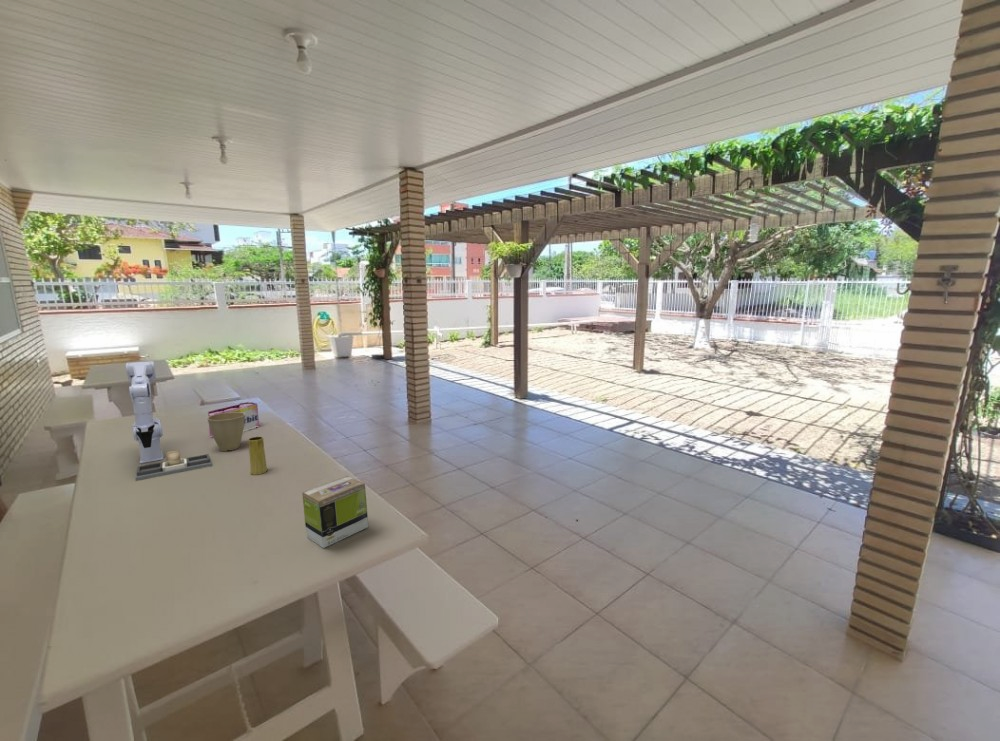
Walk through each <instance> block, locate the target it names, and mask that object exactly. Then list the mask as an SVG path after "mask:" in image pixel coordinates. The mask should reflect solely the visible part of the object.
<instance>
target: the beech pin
mask: <svg viewBox="0 0 1000 741" xmlns="http://www.w3.org/2000/svg"><path fill="white" fill-rule="evenodd" d="M181 459H182V458H181V452H180V450H177V449H176V450H171V451H167V452H166V462H168V466H173V465H179V464H181Z"/></svg>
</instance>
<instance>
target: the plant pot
mask: <svg viewBox="0 0 1000 741" xmlns="http://www.w3.org/2000/svg"><path fill="white" fill-rule="evenodd" d="M244 422H245V413H241V412H229V413H221V414H216V415H212V416H209V417H208V416H207V423H208V427H209V426H210V429H211V432H212V435H213V437H214V438H213V439H214V442H215V443H216V445H217V447H218V449H219V450H220V451H221V450H222V452H228V451H227V450H232V451H234V450H233V449H235V450H237V449H236V448H238V447H240V444H241V443H242V442H241V441H242V438H243V435H244V434H243V433H244V432H243V429H244ZM238 449H239V448H238Z"/></svg>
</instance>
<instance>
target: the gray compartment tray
mask: <svg viewBox="0 0 1000 741" xmlns="http://www.w3.org/2000/svg"><path fill="white" fill-rule="evenodd" d="M207 466H209V467H213V461H212V458H211V456H210V454H209V453H207V454H201V455H196V456H195V455H194V456H190V457H184V458H181V464H179V465H173V466H168V462H167V461H163V462H157V463H156V462H155V463H151V464H145V465H139V466H137V468H136V471H135V472H136V473H135V481H141V480H146V479H151V478H157V477H156V476H158V477H162V476H161V475H163V476H167V474H168V475H172V473H173V474H178V473H182V471H183V472H187V471H188V470H189V471H193V470H192V469H194V470H198V469H197V468H199V469H203V468H202V467H204V468H208V467H207ZM177 472H178V473H177Z"/></svg>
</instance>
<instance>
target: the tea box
mask: <svg viewBox="0 0 1000 741" xmlns="http://www.w3.org/2000/svg"><path fill="white" fill-rule="evenodd" d="M302 503H303V513H304V523H305V524H304V525H305V533H306V537H307V538H308V539H310V541H312V542H314V543H315V544H317V545H318V546H320V547H321V548H323V549H325V548H327V547H329V546H331V545H333V544H336V543H338V542H340V541H342V540H344V539H346V538H348V537H350V536H352V535H355V534H356V533H359V532H361V531H363V530H366V529H368V528H369V516H368V506H367V504H368V503H367V493H366V484H365V482H362V481H361V480H357V479H355V478H353V477H350V476H348V475H346V476H343V477H339V478H338V479H334V480H332V481H329V482H326V483H323V484H321V485H318V486H316V487H312V488H310V489H308V490H305V491H302Z"/></svg>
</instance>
